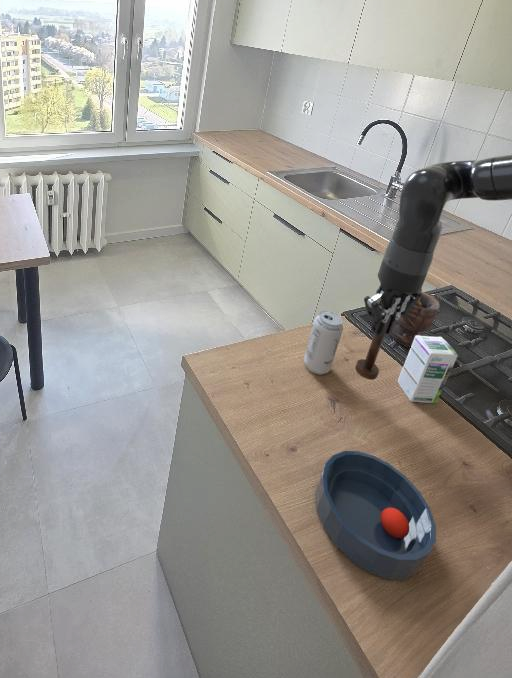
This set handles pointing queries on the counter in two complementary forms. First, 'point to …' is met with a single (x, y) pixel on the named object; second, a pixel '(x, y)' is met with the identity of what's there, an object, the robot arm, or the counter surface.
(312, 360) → the energy drink can
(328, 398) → the counter surface
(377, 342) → the brown wooden pestle
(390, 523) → the ball
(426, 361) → the syrup box
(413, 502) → the bowl
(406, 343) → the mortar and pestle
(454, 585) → the counter surface
